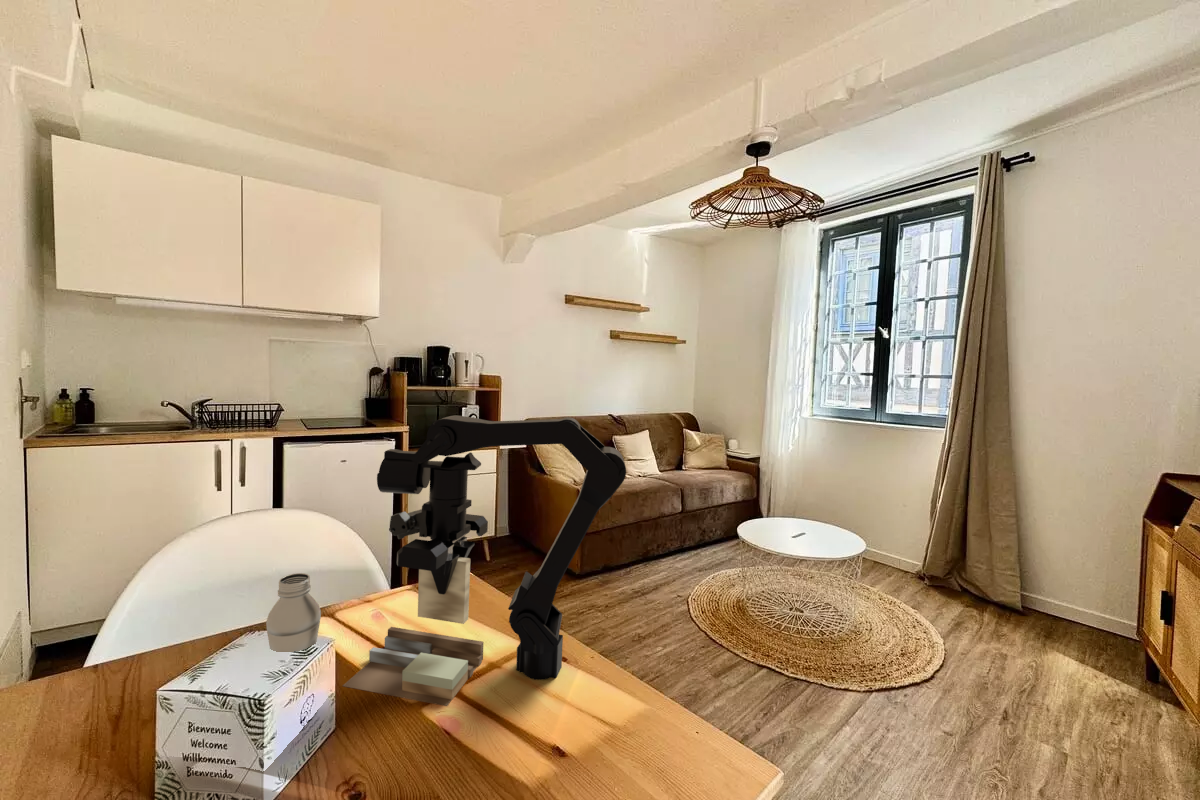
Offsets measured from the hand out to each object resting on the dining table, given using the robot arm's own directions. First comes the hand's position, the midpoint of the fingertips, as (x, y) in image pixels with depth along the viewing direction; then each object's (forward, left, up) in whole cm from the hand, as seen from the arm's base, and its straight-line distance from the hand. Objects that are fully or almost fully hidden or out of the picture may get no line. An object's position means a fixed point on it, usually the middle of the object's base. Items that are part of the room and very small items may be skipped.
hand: (445, 591), depth 81 cm
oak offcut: (-2, +5, -12) cm, 13 cm away
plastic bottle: (+13, +16, -13) cm, 25 cm away
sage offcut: (-2, +5, -11) cm, 12 cm away
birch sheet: (0, 0, -4) cm, 4 cm away
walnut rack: (+3, +3, -13) cm, 14 cm away
